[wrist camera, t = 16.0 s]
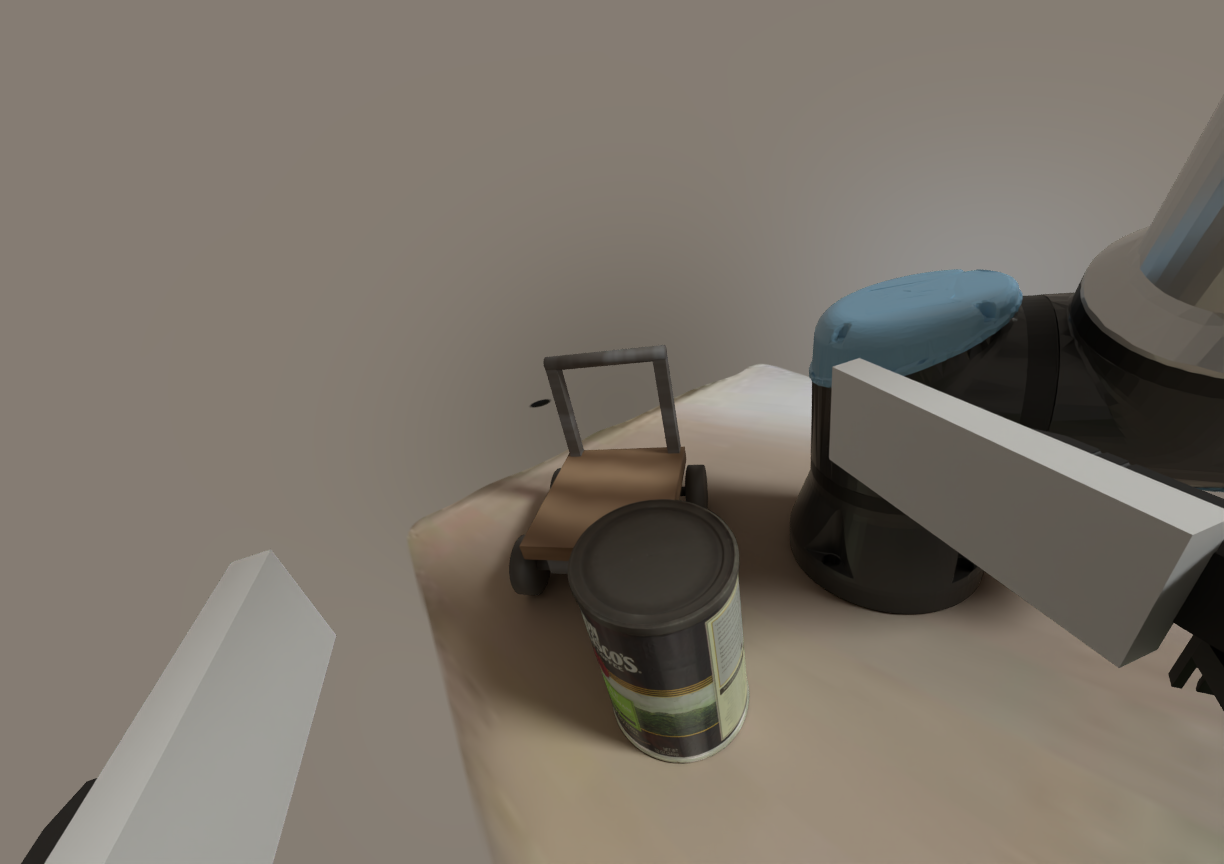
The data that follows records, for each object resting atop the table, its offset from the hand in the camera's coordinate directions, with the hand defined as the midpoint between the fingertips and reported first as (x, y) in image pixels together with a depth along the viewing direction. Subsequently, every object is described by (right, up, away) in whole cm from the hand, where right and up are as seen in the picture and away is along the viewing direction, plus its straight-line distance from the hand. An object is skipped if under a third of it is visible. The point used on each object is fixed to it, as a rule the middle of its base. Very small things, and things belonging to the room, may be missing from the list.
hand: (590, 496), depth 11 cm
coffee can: (+6, -18, +24) cm, 31 cm away
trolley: (+2, -10, +38) cm, 40 cm away
